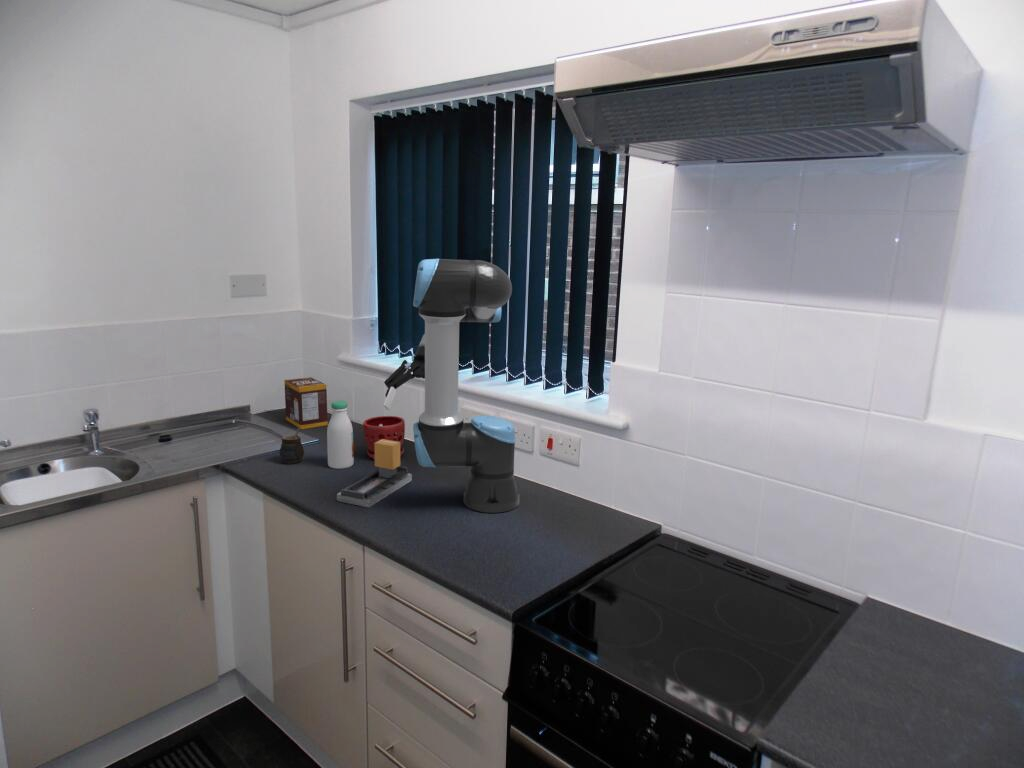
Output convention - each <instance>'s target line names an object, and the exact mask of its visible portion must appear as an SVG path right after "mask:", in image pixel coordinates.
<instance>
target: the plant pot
mask: <svg viewBox="0 0 1024 768" xmlns="http://www.w3.org/2000/svg"><path fill="white" fill-rule="evenodd" d="M405 423H406V422H405V419H404V418H403V417H400V416H396V415H395V416H394V415H393V416H392V415H381V416H380V415H379V416H374V417H369V418H367V419H365V420H364V421H363V423H362V426H363V427H362V430H363V436H364V440H365V441H364V442H365V443H366V447H367V448H368V449H367V450H366V453H367V455H368V456H369V458H371V459H373V460H375V442H377V441H379V440H381V439H385V440H391V441H397V442H400V457H401V456H402V455H404V451H405V449H404V447H402V446H403V444H404V441H405V435H406V434H405V432H406V424H405Z"/></svg>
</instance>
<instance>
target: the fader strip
mask: <svg viewBox="0 0 1024 768" xmlns="http://www.w3.org/2000/svg"><path fill="white" fill-rule="evenodd" d="M412 480H413V473H409V467H405V466H401V465H400V466H398V467H397V474H395V475H394V476H392V477H390V478H386V477H380V476H379V469H377V470H375V471H373V472H372V473H369V474H368V475H366V476H365V477H362V478H361V479H359V480H357V481H355V482H354V483H352V484H350V485H348V486H347V487H345V488H341V489H340V492H338V493H336V501H337V502H341V503H346V504H350V505H356V506H358V507H359V506H360V507H365V508H368V509H369V508H371V507H373V505H375V504H377V503H378V502H381V501H382V500H383V499H385V498H386V497H388V496H390V495H391V494H393V493H394V492H396V491H398V490H399V489H401V488H402V487H404V486H405V485H407V484H408V483H410V482H412Z"/></svg>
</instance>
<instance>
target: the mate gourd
mask: <svg viewBox="0 0 1024 768" xmlns="http://www.w3.org/2000/svg"><path fill="white" fill-rule="evenodd" d="M300 430H301V429H300V428H298V427H297V430H296V432H295V434H288V435H284V436H281V445H280V448H279V451H278V453H279V457H280V460H281V461H282V462H283V463H284V464H289V465H291V464H293V465H294V464H298V463H300V461H302V460H303V458H304V454H305V450H304V447H303V444H302V442H301V441H302V440H301V436H300V435H299V431H300Z"/></svg>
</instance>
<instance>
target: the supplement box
mask: <svg viewBox="0 0 1024 768" xmlns="http://www.w3.org/2000/svg"><path fill="white" fill-rule="evenodd" d="M327 391H328V390H327V384H326V383H324V382H322V381H320V380H317V379H316V378H313V377H312V376H310V377H308V376H307V377H299V378H292V379H291V378H289V379H284V400H285V420H286V421H287V422H289V423H290V424H292V425H293V426H295V427H297V429H298V428H300V429H299V430H306V429H312V428H317V427H323V426H328V424H329V420H328V400H327V399H328V396H327V395H328V394H327Z"/></svg>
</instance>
